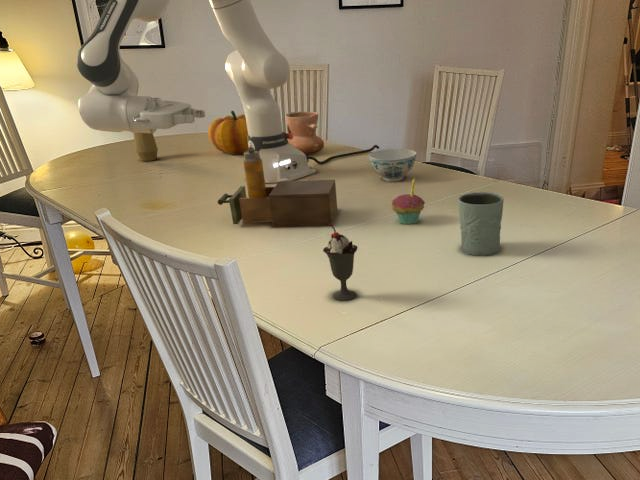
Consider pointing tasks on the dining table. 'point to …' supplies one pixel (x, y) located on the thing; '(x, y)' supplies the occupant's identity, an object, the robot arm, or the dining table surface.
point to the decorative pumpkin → (229, 134)
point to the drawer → (248, 206)
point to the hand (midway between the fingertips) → (199, 116)
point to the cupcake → (408, 206)
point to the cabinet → (303, 203)
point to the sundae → (341, 263)
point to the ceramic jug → (304, 132)
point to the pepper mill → (254, 174)
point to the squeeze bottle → (145, 146)
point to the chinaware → (392, 163)
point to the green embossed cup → (480, 222)
